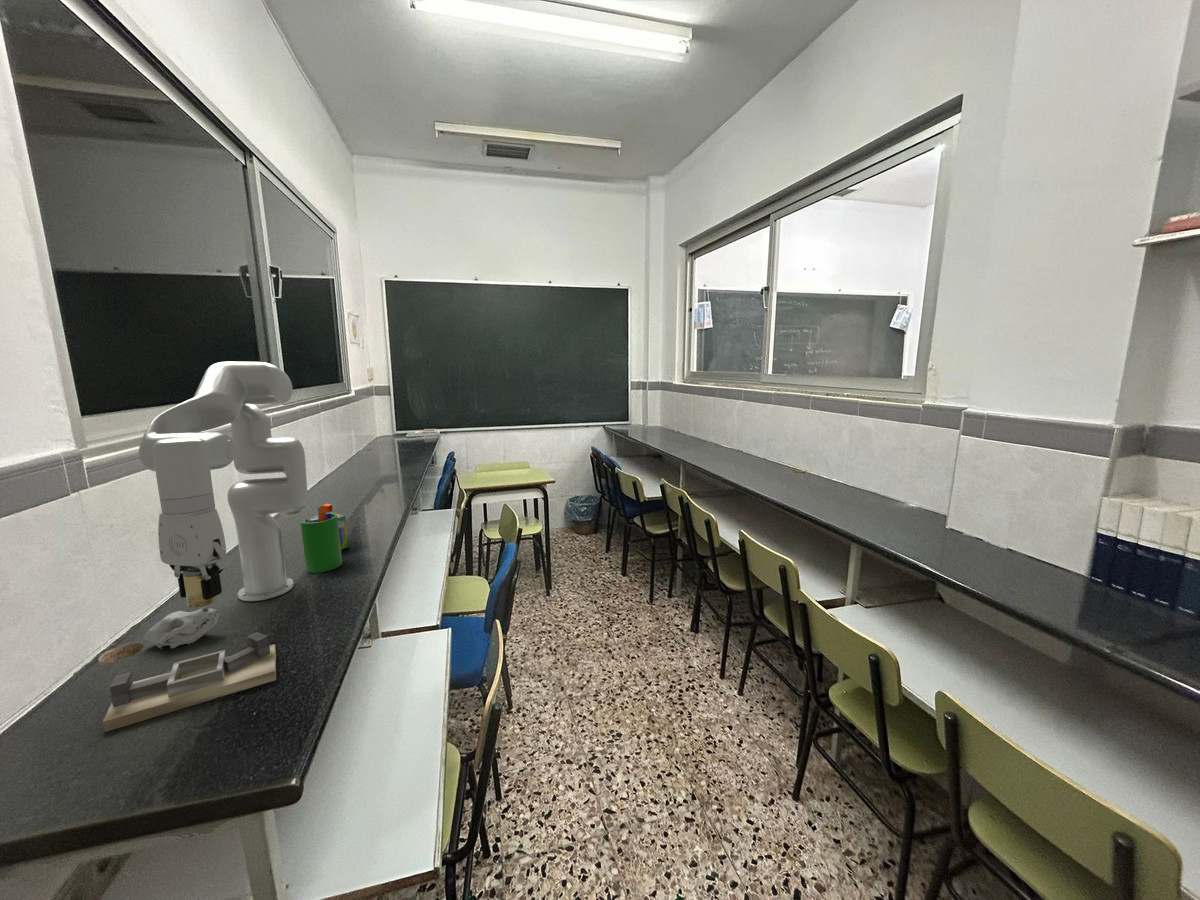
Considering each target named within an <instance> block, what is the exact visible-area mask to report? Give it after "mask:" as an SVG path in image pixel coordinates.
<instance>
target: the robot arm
mask: <svg viewBox="0 0 1200 900" xmlns="http://www.w3.org/2000/svg"><path fill="white" fill-rule="evenodd" d="M292 396H293V384H292V380H291V379H290V376H288V374H287V373H286V372H285V371H283V370H282V369H280V368H279V367H277V366H276V365H274V364H271V363H268V362H265V361H263V362H262V361H220V362H216V363H213V364H211V365H210V366H208V368H207V369H206V370H205V372H204V375H203V376H202V379H201V381H200V382H199V385H198V387H197V388H196V391H195V393H194V396H193V397H192V398H189V399H187V400H185V401H183V402H181V403H178V404H177V405H175V406H173V407H171V408H169V409H167V410H165V411H163V412H161V413H160V414H158V415H157V416H156V417H154V419H152V421H150V424H149V425H148V426H147V428H146V430H145V432H144V434H143V436H142V438H141V440H140V443H139V447H138V448H139V449H138V458H139V460H140V463H141V465H143V467H145V468H146V469H147V470H149V471H151V472H155V477H156V485H157V490H158V496H159V502H160V503H159V504H160V509H161V512H160V513H159V517H158V523H157V524H158V525H157V526H158V528H157V535H158V549H159V556H160V560H161V562H162V563H164V564H166V565H169V567H170V569H171V570H172V571H173V572H174V573H173V574H174V575H173V576H174V577H175V578H176V579H177V582H178V589H179V595H180V598H183V599H184V598H186V592H185V585H184V579H183V572H182V571H183V570H184V569H185V568H187V567H190V566H191V567H200V570H201V573H202V576H203V578H204V579H203V580H201V587H202V594H203V599H204V600H208V599H210V598H213V597H215V596H217V597H218V596H219V595H221V594H222V591H223V590H222V582H221V576H220V575H222V574H223V570H224V569H225V568H226V567H227V566H228V565H230V564H231V563H232V559H231V558H230V556H229V555H228V554H227V544H226V539H225V533H224V529H223V525H222V522H221V518H220V516H219V515H220V514H219V512H218V510H217V508H216V503H215V495H214V489H213V482H212V475H211V473H212V472H211V471H213V470H219V469H223V468H226V467H227V466H229V465H230V464H232V462H233V465H234V468H235V470H236V471H237V472H238V473H240V474H244V475H265V474H274V473H275V474H278V473H283V474H285V477H269V478H254V479H253V478H252V479H246V480H245V479H244V480H241V481H237V482H236V483H233V484H232V485H231V486H230V488H229V489H228V490H227V496H226V497H227V503H228V505H229V509H230V511H231V514H232V517H233V520H234V524H235V530H236V534H237V535H236V536H237V542H238V551H239V556H240V557H239V559H240V565H241V572H242V578H243V579H242V580H243V586H242V588H240V589H239V590H238V592H237V597H238V599H239V600H241V601H243V602H259V601H265V600H270V599H273V598H276V597H279V596H281V595H284V594H285V593H288V592H289V591H291V590H292V589H293V587H294V580H293V579H292V578H291V577H287V571H286V563H285V556H284V555H285V553H284V546H283V537H282V529H281V526H280V524H279V522H278V520H276V519H275V518H274V517H273V516H272V515H271V514H278V513H280V514H281V513H289V512H297V511H300V510H301V511H302V510H304V508H305V507H307V506H306V505H307V502H308V482H307V479H308V478H307V468H306V467H307V465H306V454H305V449H304V446H303V444H302V442H301V441H300V439H299V440H298V439H297V438H295V437H272V427H271V426H272V425H271V419H270V418H269V417H268V415H267V414H266V413H265V412H264V411H263V410H262V409H261V408H260V407H259V406H257V405H269V404H270V405H272V404H274V405H279V404H285V403H287V402H289V401H290V400H291V398H292ZM228 424H230V425H231V436H229V435H228V434H226V433H223V432H217V431H211V430H213V429H217V428H220V427H223V426H225V425H228ZM209 430H210V431H209ZM210 564H212V567H211V569H210V570H209V569H208V565H210Z"/></svg>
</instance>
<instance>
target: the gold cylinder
mask: <svg viewBox="0 0 1200 900" xmlns="http://www.w3.org/2000/svg"><path fill="white" fill-rule="evenodd" d="M211 567H212V564H210V565H208V569H209V570H210V569H211ZM182 572H183V579H184V585H185V592H186V597H185V598H186V603H187V604H186V605H187V607H188V608H191V609H195V608H196V609H198V608H203V607H206V606H209V605H212V604H214V603H215V602H217V600H218V595H217V596H215V597H213V598H210V599H208V600H204V599H203V594H202V587H201V580H203V579H204V578H203V576H202V573H201V570H200V567H191V566H190V567H187V568H185V569H184V570H183V571H182Z"/></svg>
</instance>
